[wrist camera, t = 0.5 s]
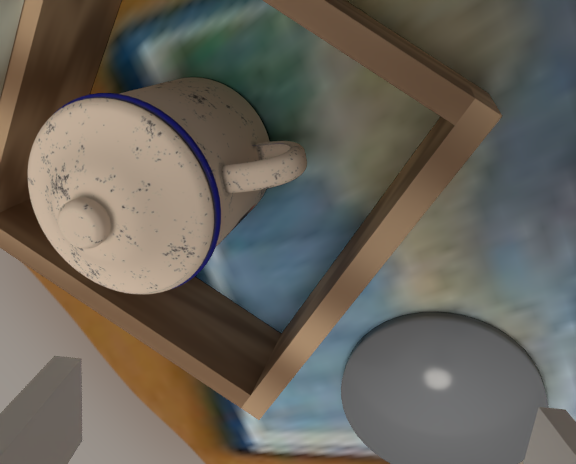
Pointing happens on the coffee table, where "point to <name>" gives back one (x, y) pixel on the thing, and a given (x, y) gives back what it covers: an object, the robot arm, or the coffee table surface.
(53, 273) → the open wooden keepsake box
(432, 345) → the trivet
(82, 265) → the teacup with lid
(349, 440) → the coffee table surface
